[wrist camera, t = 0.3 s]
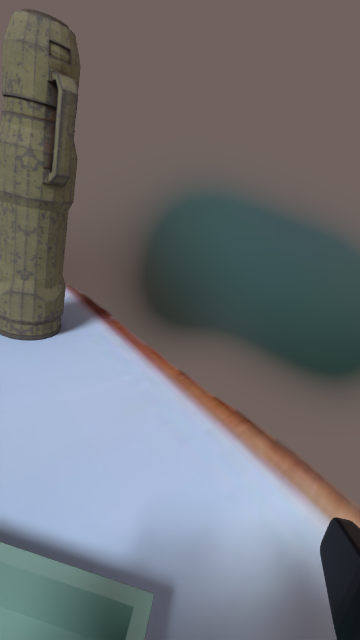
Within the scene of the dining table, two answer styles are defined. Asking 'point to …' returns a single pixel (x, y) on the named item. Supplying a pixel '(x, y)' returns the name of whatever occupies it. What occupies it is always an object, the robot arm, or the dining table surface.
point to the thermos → (36, 171)
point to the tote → (66, 601)
